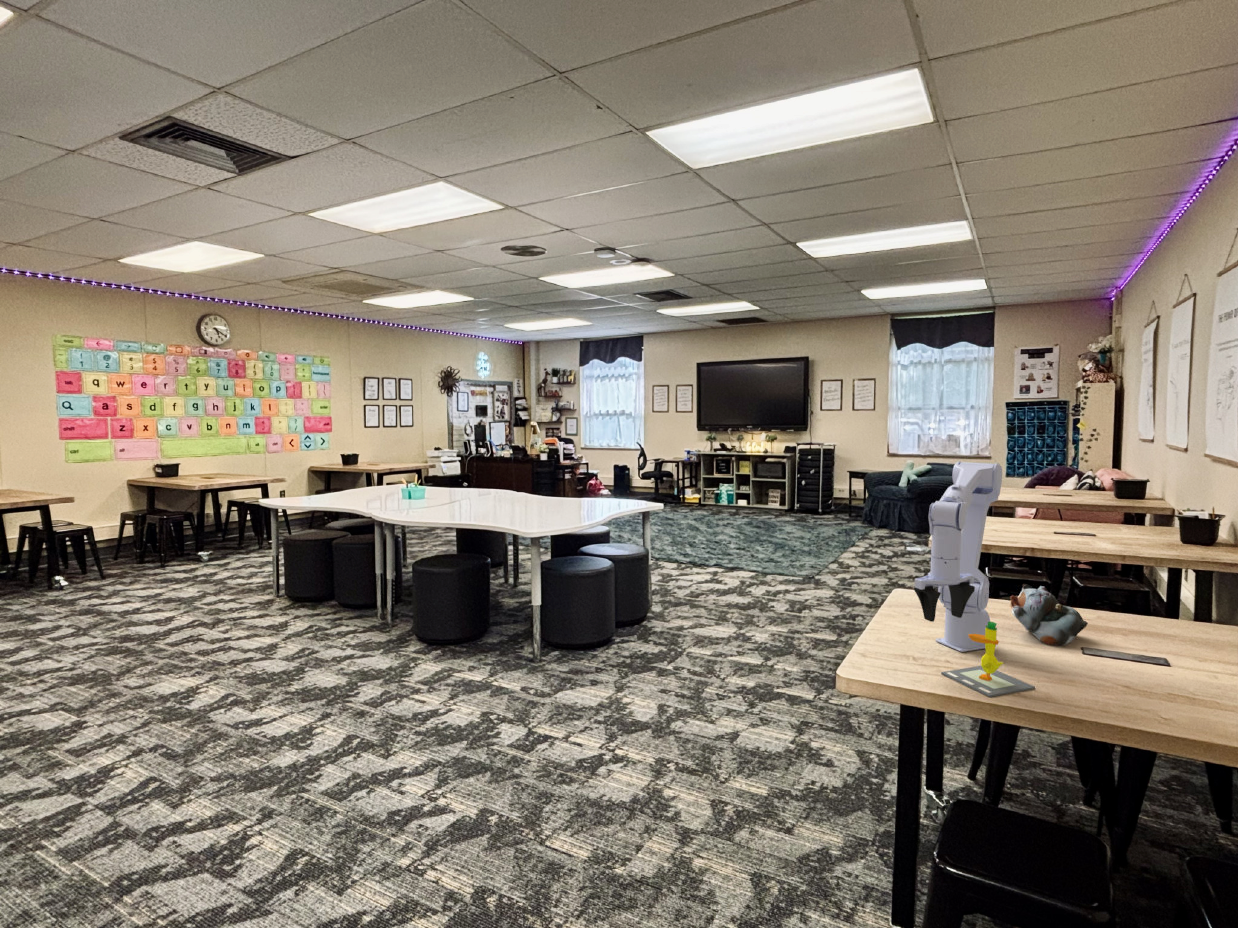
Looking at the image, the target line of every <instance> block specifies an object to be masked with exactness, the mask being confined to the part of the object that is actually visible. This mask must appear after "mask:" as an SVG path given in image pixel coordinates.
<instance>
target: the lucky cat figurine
mask: <svg viewBox="0 0 1238 928" xmlns="http://www.w3.org/2000/svg"><path fill="white" fill-rule="evenodd" d="M1009 599H1010V602H1009V606H1010V608H1011V612H1012V615H1013V616H1014V617H1015V619H1016V620H1018V622H1019V623H1020V624H1021V625H1022V626H1023V627H1024V629H1025V631H1028V632H1030V633H1031V634H1032V635H1033V636H1035V637H1036V639H1038V641H1040V642H1042V643H1044V644H1045V645H1047V646H1048V645H1049V646H1056V647H1062V646H1064V645H1068V644H1070V643H1072V642H1074V641H1075V639H1076V636H1078V634H1080V633H1081V632H1082V631H1083V630H1084V629H1086V628H1087V626H1088V624H1089V623H1088V622H1087V621H1086V620H1084V619H1083V616H1082V615H1081V614H1080V613H1079V612H1078V611H1077V610H1076V608H1073V607H1071V606H1069V605H1068V606H1067V605H1062V604H1061V603H1059V601H1058V599H1056V596H1054V594H1052V593H1051V592H1049V591H1048V590H1047V588H1046V587H1045V586H1042V585H1040V586H1039V587H1038V588H1035V587H1032V586H1031V585H1029V584H1026V583H1023V584H1022V588H1021V591H1020V593H1019V595H1011V596H1009Z"/></svg>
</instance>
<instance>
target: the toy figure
mask: <svg viewBox="0 0 1238 928" xmlns="http://www.w3.org/2000/svg"><path fill="white" fill-rule="evenodd" d="M985 627H986V628H985V635H980V634H969V635H968V636H969V637H970V639H971V640H972V641H976V642H980V643H984V644H985V648H984V649H985V653H984V654H983V656H981V660H980V662H981V664H980V666H982V668H983V670H984V671H985V672H986V674H981V676H979V679H982V680H987V681H990V680H992V677H991V676H990V674H992V673H994V672H995V671H996V670H997V671H998V669H999V668H1000V667H1001V666H1002V665H1003V664H1004V661H998V659H997V657H996V656H995V651H996V645H997V646H998V645H999V644H1000V640H998V639H997V634H998V633H997V631H998V628H997V623H996V622H994V621H990V622H988V625H987V626H985Z"/></svg>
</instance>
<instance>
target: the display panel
mask: <svg viewBox="0 0 1238 928" xmlns="http://www.w3.org/2000/svg"><path fill="white" fill-rule="evenodd" d="M940 674H941V675H942V676H944V677H947V678H949V679H951V680H953V681H955V682H957V683H958V684H961V685H963V686H965V687H967V688H969V689H971V690H973V691H975V692H978V693H980V694H982V695H984V696H986V697H988V698H992V697H997V696H1003V695H1009V694H1014V693H1019V692H1025V691H1029V690H1034V689H1036V686H1035V685H1032V684H1029V683H1028V682H1026V681H1024V680H1021V679H1019V678H1016V677H1013V676H1011V675H1009V674H1007V673H1004V672H1002V671H1000V670H998V669H997V670H996V671H995V672H994V673H992V674H990V676H991V677H992V680H990V681H987V680H982V679H979V676H981V674H986V672H985V671H984V670H983V668H982V666H981V665H976V666H971V667H965V668H958V669H957V668H956V669H952V670H947V671H941V672H940Z"/></svg>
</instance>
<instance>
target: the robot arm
mask: <svg viewBox="0 0 1238 928" xmlns="http://www.w3.org/2000/svg"><path fill="white" fill-rule="evenodd" d="M951 478H952V483H953V484H952V485H950V486H948V487H947V489H946V490H945V491H944V493H943V495H941V498H940V499H939V500H935V502H931V504H930V505H929V511H928V524H929V535H930V536H931V546H930V547H931V549H930V550H931V551H930V571H929V572H928V573H927V575H924V576H921V577H918V578H914V587H913V590H914V593H915V594H916V596H917V598H918V600H919V602H920V605H921V609H922V613H923V619H924V620H926V621H929V622H935V619H936V612H937V604H938V600H939V601H940V603H941V604H942V605H943V606H942V607H943V608H945V611H944V612H945V614H944V615H945V616H944V635H943V637H940V638H935V642H938V643H940V644H942V645H944V646H946V647H949V648H952V649H953V650H956V651H959V652H961V653H962V652H963V653H964V652H968V651H969V652H970V651H971V652H972V651H977V650H983V649H985V644H984V643H980V642H976V641H972V640H971V639H970V637H969V636H968V635H969V634H980V635H985V628H986V627H985V626H987V625H988V622H991V618H990V615H989V613H988V611H987V610H986V608H987V606H988V603H989V596H990V595H989V594H990V590H989V588H990V581H989V578H988V576H987V575H985V574H984V573H983V572H982V571H981V570H980V569H979V566H980V560H981V559H980V558H981V553H982V545H983V539H984V534H985V527H986V521H987V515H988V510H989V508H990V505H991V504H992V503H994V502H996V501H997V502H998V501H999V497H1000V493H1001V489H1002V483H1003V469H1002V466H1001V464H1000V463H997V462H995V463H990V462H989V463H986V462H971V461H970V462H968V461H967V462H966V461H961V460H960V461H957V462H955V464H954V465H953V468H952V477H951ZM935 588H937V589H938V590H935Z"/></svg>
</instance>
